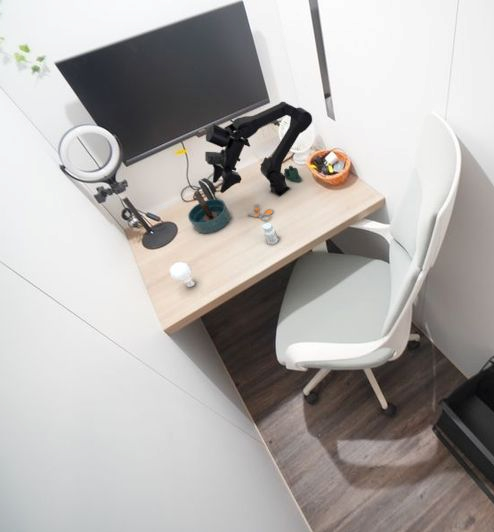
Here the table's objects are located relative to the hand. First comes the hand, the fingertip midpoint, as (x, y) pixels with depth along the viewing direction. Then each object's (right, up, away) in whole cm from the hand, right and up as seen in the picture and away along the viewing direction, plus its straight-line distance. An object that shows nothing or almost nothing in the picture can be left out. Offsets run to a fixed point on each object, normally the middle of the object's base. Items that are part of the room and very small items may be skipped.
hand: (217, 187), depth 128 cm
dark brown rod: (-5, -12, +7) cm, 15 cm away
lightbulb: (-3, -38, -14) cm, 41 cm away
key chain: (+15, -9, +8) cm, 19 cm away
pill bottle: (+23, -22, -3) cm, 32 cm away
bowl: (-5, -13, +8) cm, 16 cm away
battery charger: (-8, -2, +17) cm, 19 cm away
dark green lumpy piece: (+26, +10, +23) cm, 36 cm away
